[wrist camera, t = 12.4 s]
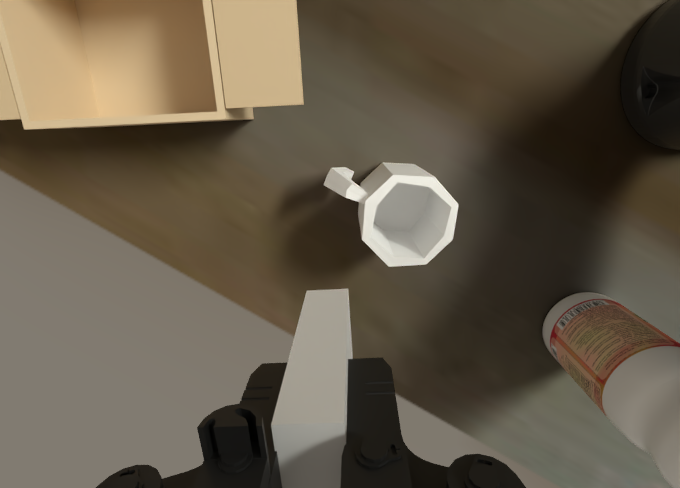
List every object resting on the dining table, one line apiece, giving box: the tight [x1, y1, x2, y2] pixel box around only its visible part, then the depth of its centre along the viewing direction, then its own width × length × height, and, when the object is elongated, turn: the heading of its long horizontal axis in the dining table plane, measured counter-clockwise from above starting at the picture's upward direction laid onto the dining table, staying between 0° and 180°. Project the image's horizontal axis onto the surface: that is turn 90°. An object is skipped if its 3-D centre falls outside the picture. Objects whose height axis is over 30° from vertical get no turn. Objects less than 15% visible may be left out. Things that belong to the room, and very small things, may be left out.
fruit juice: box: [542, 292, 680, 488], centre depth 34 cm, size 9×9×28 cm
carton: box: [0, 0, 304, 130], centre depth 34 cm, size 28×12×10 cm, turn 93°
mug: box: [324, 162, 459, 267], centre depth 38 cm, size 12×9×10 cm
